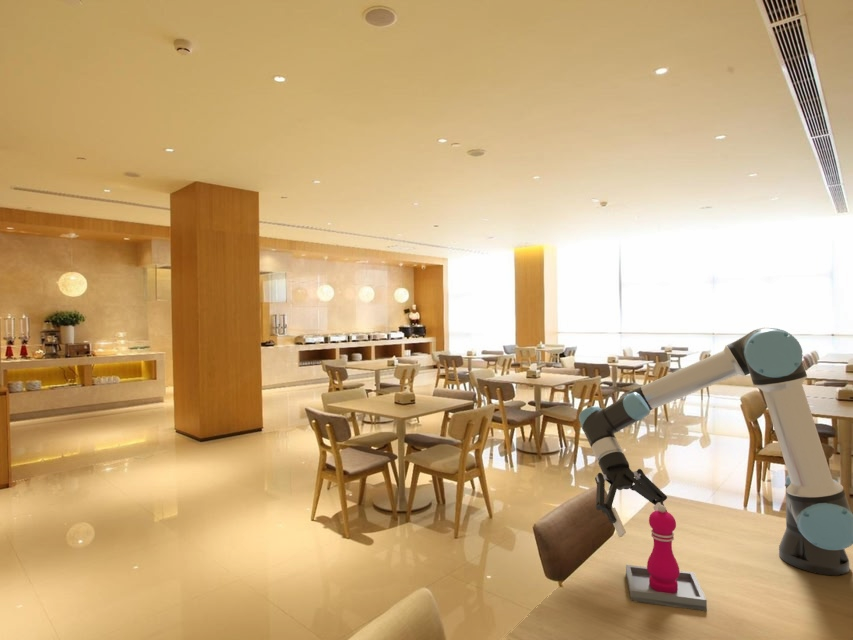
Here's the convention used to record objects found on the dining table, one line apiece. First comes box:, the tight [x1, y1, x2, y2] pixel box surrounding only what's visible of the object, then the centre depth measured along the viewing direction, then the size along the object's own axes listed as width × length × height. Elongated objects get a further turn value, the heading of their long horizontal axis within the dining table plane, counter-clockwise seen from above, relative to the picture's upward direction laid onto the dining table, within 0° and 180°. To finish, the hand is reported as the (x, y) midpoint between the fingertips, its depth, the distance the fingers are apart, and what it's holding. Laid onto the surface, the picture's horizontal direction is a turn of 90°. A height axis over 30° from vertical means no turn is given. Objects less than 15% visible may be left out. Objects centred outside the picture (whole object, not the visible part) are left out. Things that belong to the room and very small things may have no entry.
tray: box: [625, 564, 708, 612], centre depth 124 cm, size 16×13×2 cm
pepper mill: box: [646, 505, 680, 593], centre depth 124 cm, size 7×7×20 cm
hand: (646, 531), depth 129 cm, fingers open, 13 cm apart
